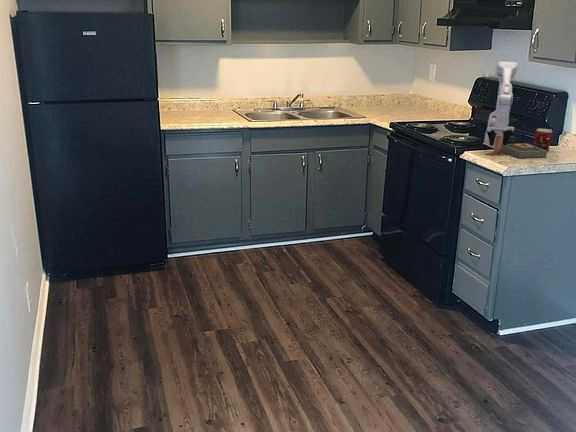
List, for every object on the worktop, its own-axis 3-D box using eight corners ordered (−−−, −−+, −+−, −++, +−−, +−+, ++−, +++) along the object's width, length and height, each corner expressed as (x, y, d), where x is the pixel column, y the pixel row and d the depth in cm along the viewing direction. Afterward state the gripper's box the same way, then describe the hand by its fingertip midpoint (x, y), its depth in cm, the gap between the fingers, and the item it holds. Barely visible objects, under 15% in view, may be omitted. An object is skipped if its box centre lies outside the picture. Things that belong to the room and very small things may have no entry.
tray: (499, 150, 304) (500, 142, 303) (525, 150, 309) (526, 141, 307) (518, 158, 290) (520, 149, 288) (546, 157, 294) (547, 148, 293)
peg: (492, 153, 298) (494, 136, 295) (497, 153, 299) (499, 135, 296) (495, 154, 295) (498, 137, 292) (500, 154, 296) (503, 137, 293)
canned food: (531, 150, 308) (535, 130, 304) (534, 148, 314) (538, 127, 310) (546, 153, 304) (550, 132, 300) (549, 150, 310) (553, 129, 306)
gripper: (494, 120, 285) (490, 147, 290) (519, 119, 289) (515, 146, 294) (485, 117, 292) (481, 144, 296) (510, 117, 296) (506, 143, 300)
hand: (497, 145), depth 295 cm, fingers open, 7 cm apart
